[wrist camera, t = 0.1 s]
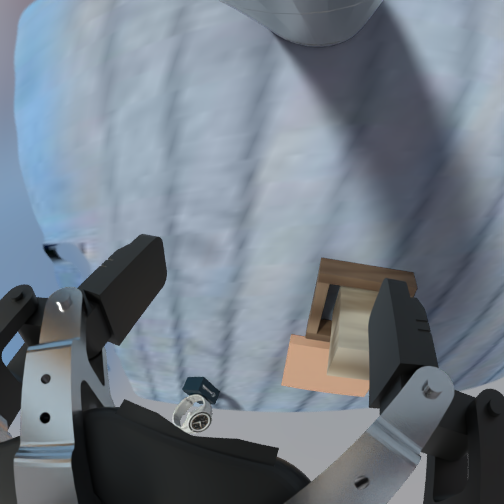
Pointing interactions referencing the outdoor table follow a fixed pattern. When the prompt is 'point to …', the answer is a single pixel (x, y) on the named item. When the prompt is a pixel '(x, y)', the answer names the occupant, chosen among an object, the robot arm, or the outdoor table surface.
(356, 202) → the outdoor table surface
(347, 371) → the ash block
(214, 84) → the outdoor table surface
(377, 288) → the walnut pocket frame
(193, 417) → the watch
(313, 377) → the terracotta tile
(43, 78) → the outdoor table surface
